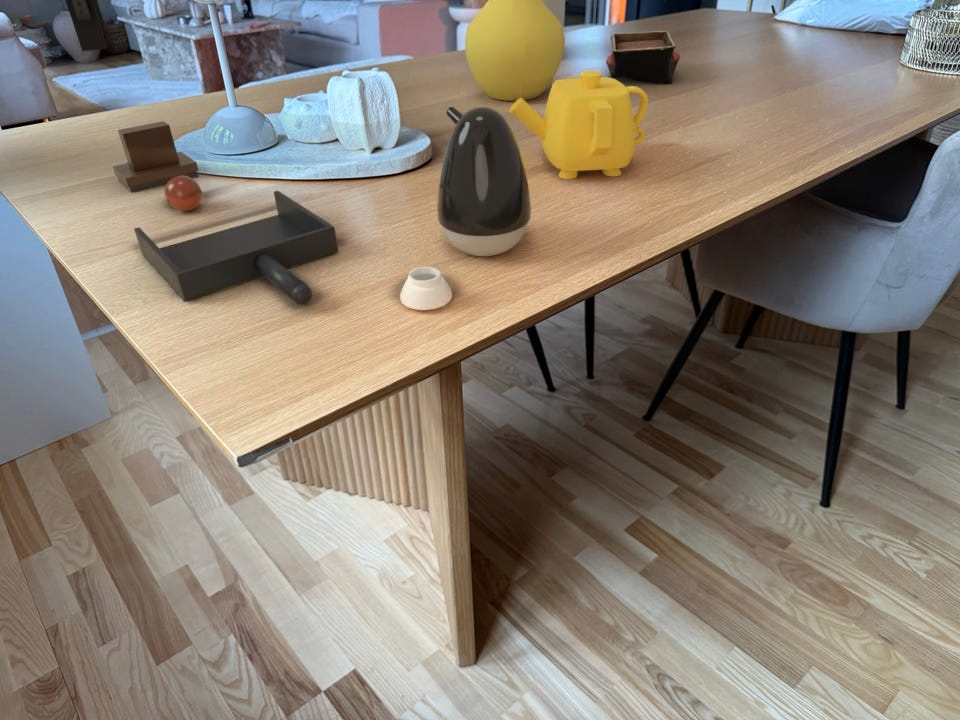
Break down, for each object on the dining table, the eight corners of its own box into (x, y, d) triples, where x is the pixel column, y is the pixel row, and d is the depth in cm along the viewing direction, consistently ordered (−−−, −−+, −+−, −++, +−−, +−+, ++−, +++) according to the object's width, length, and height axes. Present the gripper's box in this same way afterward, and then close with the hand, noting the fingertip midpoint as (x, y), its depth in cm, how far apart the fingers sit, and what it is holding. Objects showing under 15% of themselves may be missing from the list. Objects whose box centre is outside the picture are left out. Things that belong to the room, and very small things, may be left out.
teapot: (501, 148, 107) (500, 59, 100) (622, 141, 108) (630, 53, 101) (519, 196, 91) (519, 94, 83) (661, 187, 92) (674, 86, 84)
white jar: (404, 316, 66) (456, 309, 67) (401, 289, 65) (454, 282, 65) (398, 292, 70) (447, 285, 71) (395, 265, 69) (445, 259, 69)
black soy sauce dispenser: (487, 220, 85) (484, 89, 76) (549, 246, 78) (553, 106, 69) (420, 245, 79) (409, 107, 71) (480, 276, 73) (476, 128, 64)
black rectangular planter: (600, 95, 139) (607, 43, 132) (607, 61, 152) (614, 12, 145) (673, 102, 137) (684, 50, 130) (674, 67, 150) (684, 18, 143)
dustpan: (142, 254, 79) (133, 228, 77) (282, 214, 88) (277, 190, 86) (222, 345, 63) (214, 314, 61) (385, 285, 72) (382, 257, 70)
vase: (509, 113, 123) (508, -88, 106) (447, 94, 135) (437, -89, 118) (582, 94, 132) (592, -93, 115) (518, 78, 144) (519, -93, 127)
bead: (165, 209, 90) (155, 176, 88) (198, 200, 93) (190, 168, 90) (176, 219, 88) (166, 185, 85) (210, 210, 90) (202, 176, 87)
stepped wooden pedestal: (119, 188, 97) (100, 129, 92) (187, 173, 102) (171, 115, 97) (133, 201, 93) (113, 140, 88) (202, 184, 98) (186, 125, 93)
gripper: (61, -181, 68) (130, 54, 80) (70, -164, 87) (124, 23, 99) (-28, -180, 65) (57, 61, 77) (1, -163, 84) (66, 29, 96)
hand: (95, 40), depth 88 cm, fingers open, 13 cm apart
